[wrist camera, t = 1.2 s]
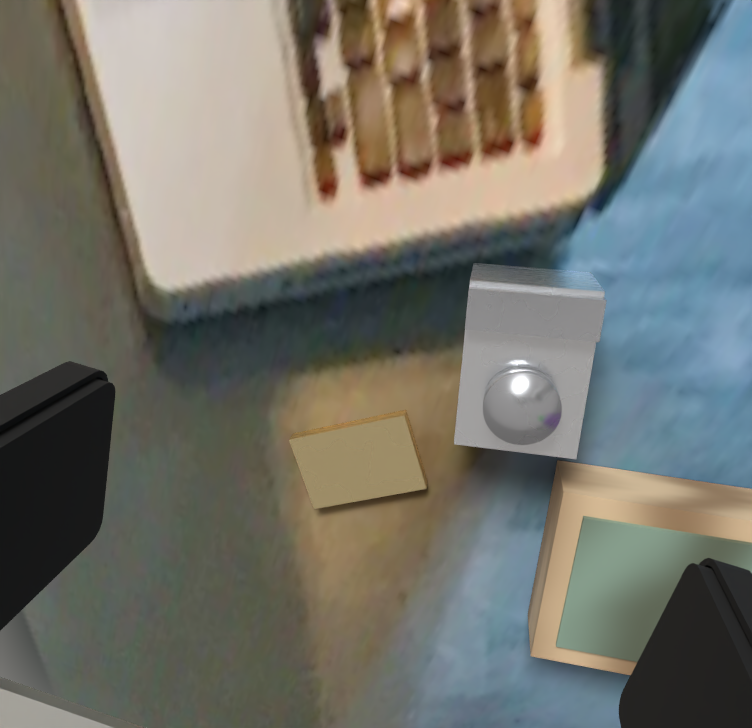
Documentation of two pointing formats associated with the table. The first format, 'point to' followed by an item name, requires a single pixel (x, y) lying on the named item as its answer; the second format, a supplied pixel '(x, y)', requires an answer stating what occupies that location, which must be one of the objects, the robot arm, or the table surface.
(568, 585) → the picture frame
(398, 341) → the table surface
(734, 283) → the table surface
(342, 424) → the cover plate
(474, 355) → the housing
